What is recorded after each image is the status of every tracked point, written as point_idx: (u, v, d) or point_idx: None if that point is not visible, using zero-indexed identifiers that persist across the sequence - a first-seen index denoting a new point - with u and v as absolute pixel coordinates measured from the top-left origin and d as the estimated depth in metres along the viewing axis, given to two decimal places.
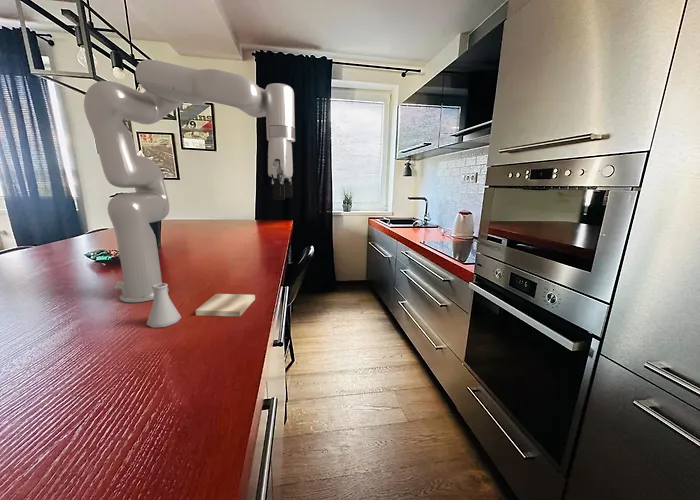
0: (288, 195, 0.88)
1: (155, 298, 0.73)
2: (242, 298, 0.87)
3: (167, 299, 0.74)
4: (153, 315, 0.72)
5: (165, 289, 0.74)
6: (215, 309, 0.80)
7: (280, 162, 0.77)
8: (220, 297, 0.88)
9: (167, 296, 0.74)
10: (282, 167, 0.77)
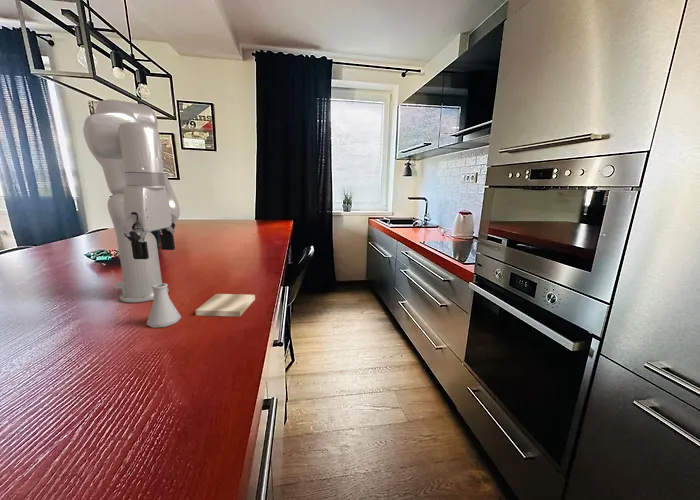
0: (169, 247, 0.75)
1: (155, 298, 0.72)
2: (242, 298, 0.87)
3: (167, 299, 0.74)
4: (153, 315, 0.72)
5: (165, 289, 0.73)
6: (215, 309, 0.80)
7: (138, 216, 0.64)
8: (220, 297, 0.88)
9: (167, 296, 0.74)
10: (141, 222, 0.64)
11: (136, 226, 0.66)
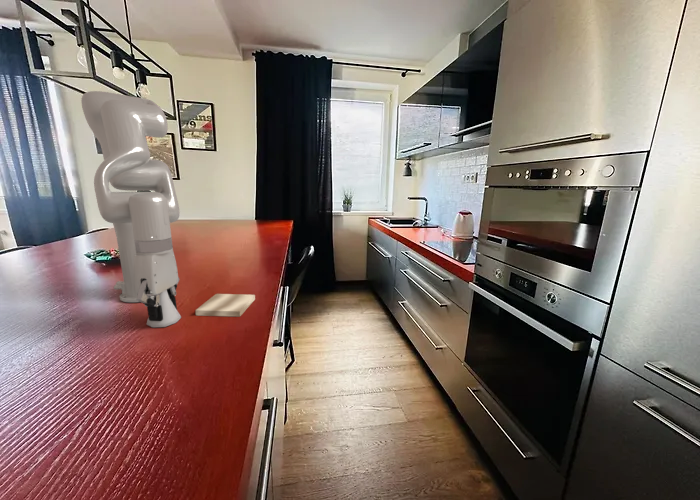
0: None
1: None
2: (242, 298, 0.87)
3: (167, 299, 0.74)
4: None
5: None
6: (215, 309, 0.80)
7: (147, 282, 0.68)
8: (220, 297, 0.88)
9: (167, 296, 0.74)
10: (150, 287, 0.68)
11: (148, 290, 0.70)
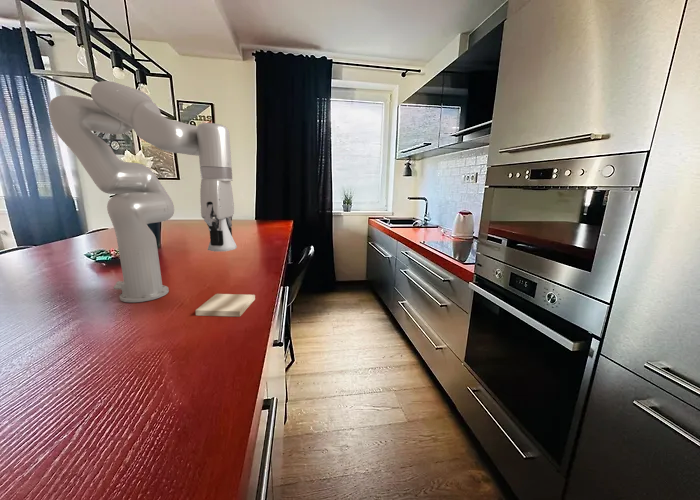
0: None
1: None
2: (242, 298, 0.87)
3: (226, 227, 0.80)
4: None
5: None
6: (215, 309, 0.80)
7: (213, 205, 0.73)
8: (220, 297, 0.88)
9: (226, 224, 0.80)
10: (215, 210, 0.74)
11: None
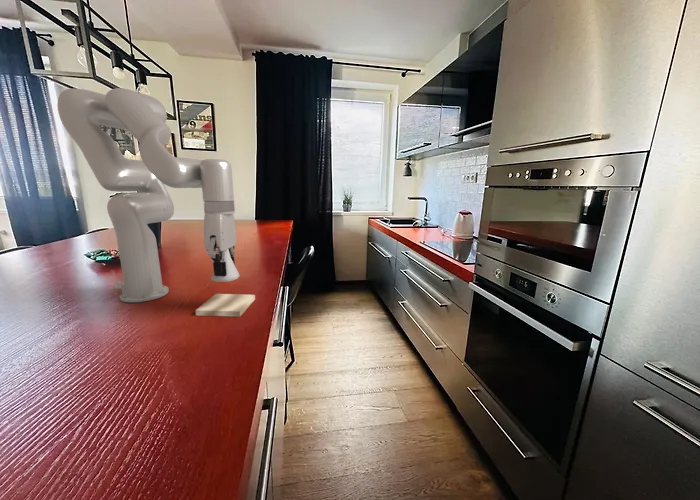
0: None
1: None
2: (242, 298, 0.87)
3: (229, 257, 0.81)
4: None
5: None
6: (215, 309, 0.80)
7: (216, 238, 0.75)
8: (220, 297, 0.88)
9: (229, 254, 0.82)
10: (218, 243, 0.76)
11: None
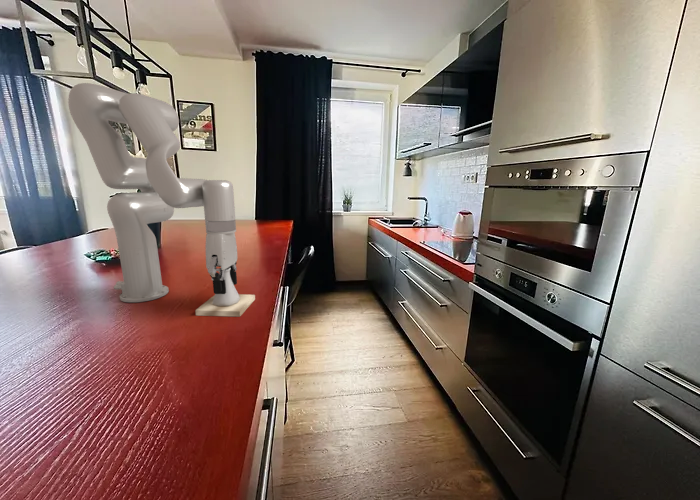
0: None
1: None
2: (242, 298, 0.87)
3: (230, 281, 0.83)
4: (218, 295, 0.82)
5: (229, 272, 0.83)
6: (215, 309, 0.80)
7: (217, 258, 0.77)
8: None
9: (230, 278, 0.83)
10: (220, 262, 0.77)
11: None
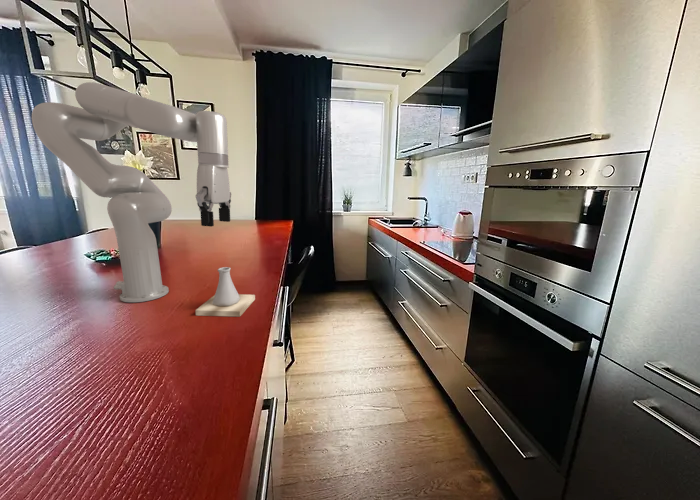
0: (225, 219, 0.88)
1: (220, 280, 0.82)
2: (242, 298, 0.87)
3: (230, 281, 0.83)
4: (218, 295, 0.82)
5: (229, 272, 0.83)
6: (215, 309, 0.80)
7: (208, 190, 0.77)
8: None
9: (230, 278, 0.83)
10: (210, 194, 0.77)
11: (205, 198, 0.79)
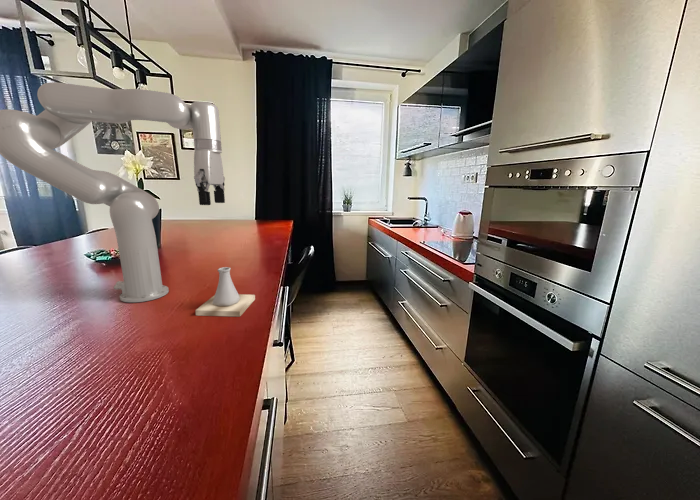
0: (220, 200, 0.97)
1: (220, 280, 0.82)
2: (242, 298, 0.87)
3: (230, 281, 0.83)
4: (218, 295, 0.82)
5: (229, 272, 0.83)
6: (215, 309, 0.80)
7: (204, 172, 0.86)
8: None
9: (230, 278, 0.83)
10: (206, 176, 0.86)
11: (201, 180, 0.88)
